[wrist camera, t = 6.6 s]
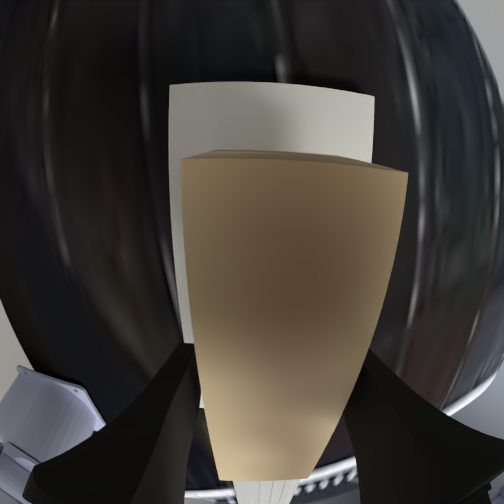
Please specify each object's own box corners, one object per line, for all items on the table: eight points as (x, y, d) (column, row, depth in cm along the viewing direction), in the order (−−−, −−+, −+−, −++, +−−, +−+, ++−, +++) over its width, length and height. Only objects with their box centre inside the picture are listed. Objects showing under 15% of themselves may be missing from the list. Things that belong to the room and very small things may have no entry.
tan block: (224, 408, 15) (219, 479, 10) (215, 149, 9) (180, 159, 5) (298, 407, 15) (307, 478, 10) (337, 155, 9) (408, 173, 5)
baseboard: (324, 441, 23) (227, 445, 23) (328, 463, 20) (225, 468, 20) (293, 504, 35) (240, 506, 35) (294, 516, 32) (240, 518, 32)
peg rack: (197, 397, 19) (192, 428, 16) (175, 88, 11) (154, 76, 8) (316, 397, 19) (323, 428, 16) (366, 98, 11) (394, 91, 8)
